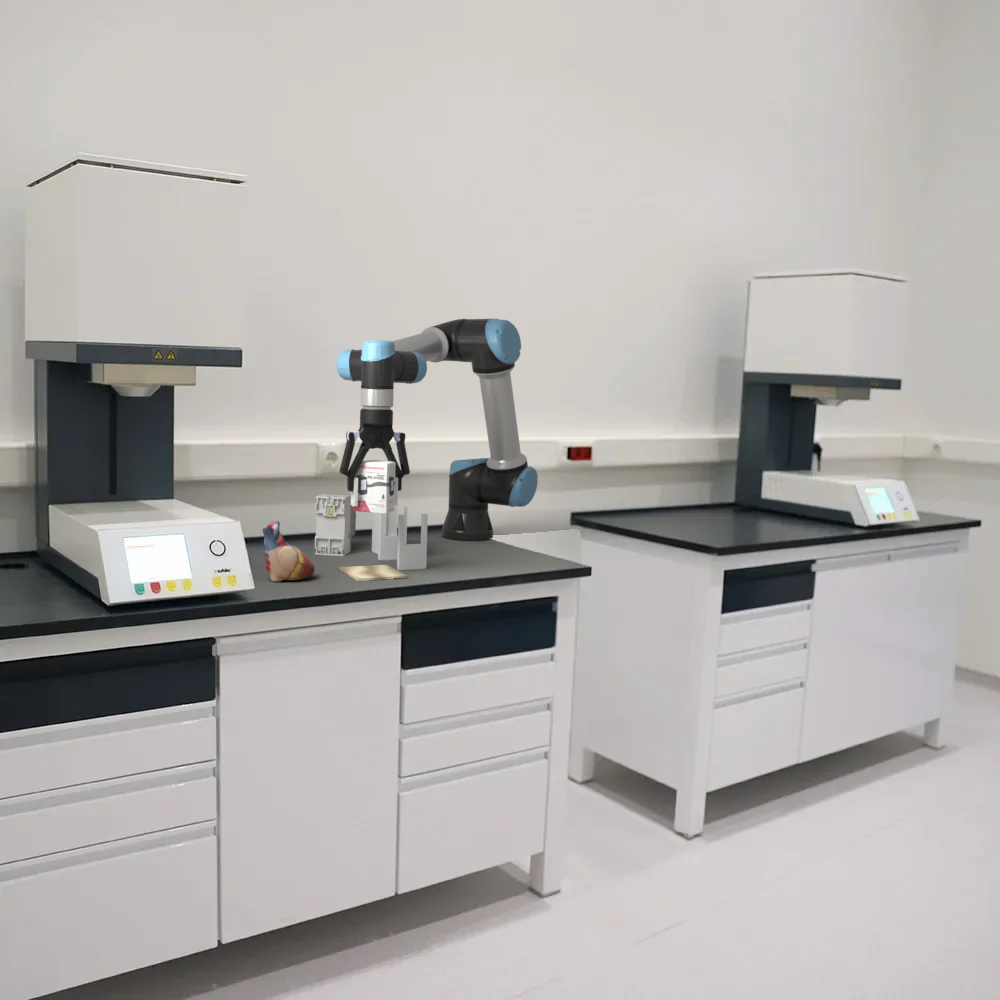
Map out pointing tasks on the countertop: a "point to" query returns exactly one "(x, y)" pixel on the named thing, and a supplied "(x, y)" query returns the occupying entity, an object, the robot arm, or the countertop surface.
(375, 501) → the ink box
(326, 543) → the circuit breaker
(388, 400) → the robot arm
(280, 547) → the anatomical model
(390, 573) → the birch pad
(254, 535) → the countertop surface
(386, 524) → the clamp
